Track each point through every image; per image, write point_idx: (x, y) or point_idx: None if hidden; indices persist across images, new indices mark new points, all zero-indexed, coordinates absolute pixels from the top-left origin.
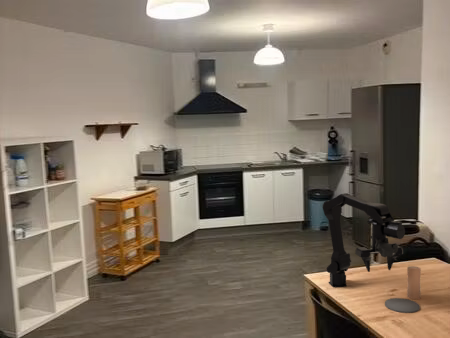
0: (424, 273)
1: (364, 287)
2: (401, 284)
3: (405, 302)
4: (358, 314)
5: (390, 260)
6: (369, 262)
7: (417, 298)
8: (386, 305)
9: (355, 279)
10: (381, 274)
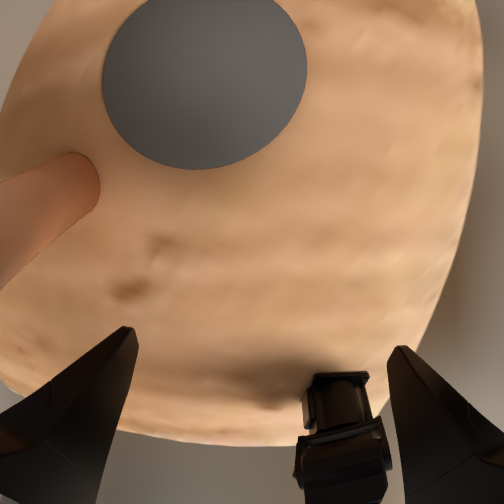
0: (16, 349)
1: (247, 351)
2: (82, 322)
3: (159, 89)
4: (475, 91)
5: (69, 431)
6: (469, 436)
7: (68, 153)
8: (305, 82)
9: (236, 405)
10: (127, 399)
